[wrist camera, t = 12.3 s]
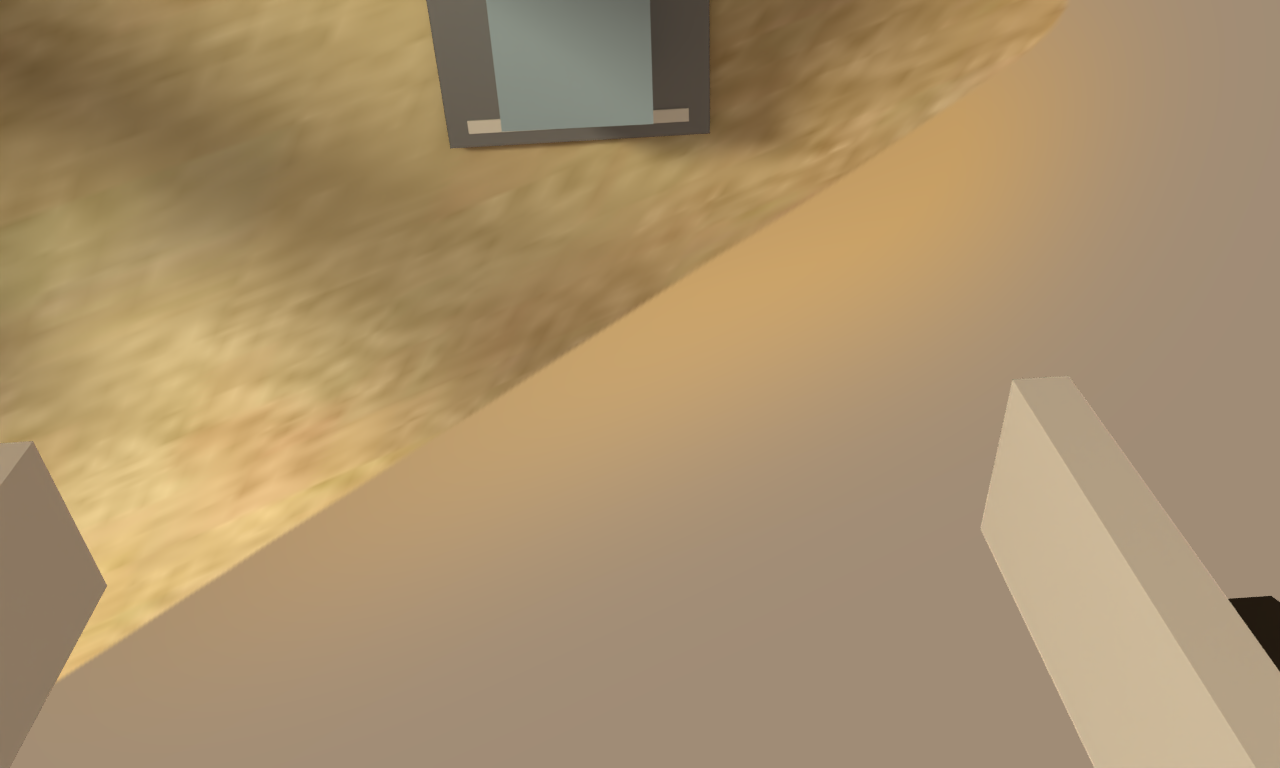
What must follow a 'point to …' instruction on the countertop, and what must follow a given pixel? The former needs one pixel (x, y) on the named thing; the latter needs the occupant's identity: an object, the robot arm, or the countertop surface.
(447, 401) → the countertop surface
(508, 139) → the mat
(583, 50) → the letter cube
